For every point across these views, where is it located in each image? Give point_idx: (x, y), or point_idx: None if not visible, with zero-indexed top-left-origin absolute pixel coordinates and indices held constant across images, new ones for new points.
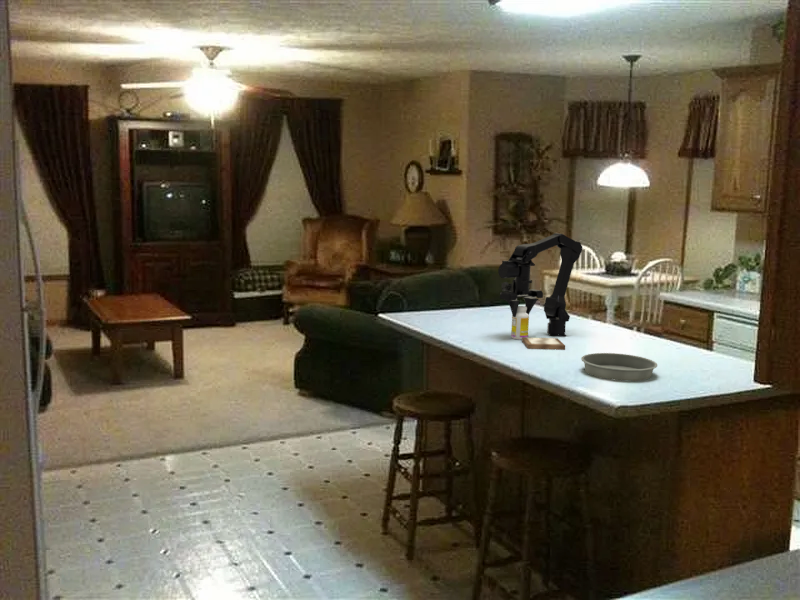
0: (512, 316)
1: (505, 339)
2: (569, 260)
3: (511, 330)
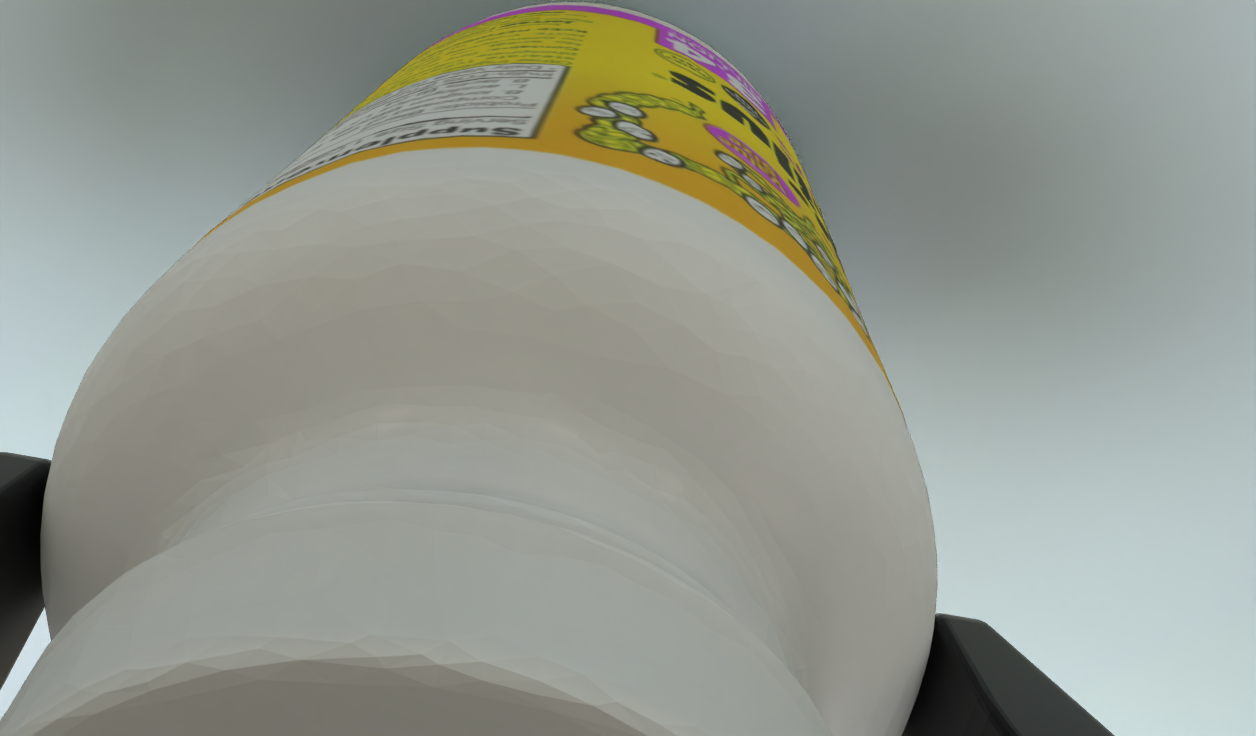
0: (116, 333)
1: (146, 54)
2: None
3: (380, 86)
